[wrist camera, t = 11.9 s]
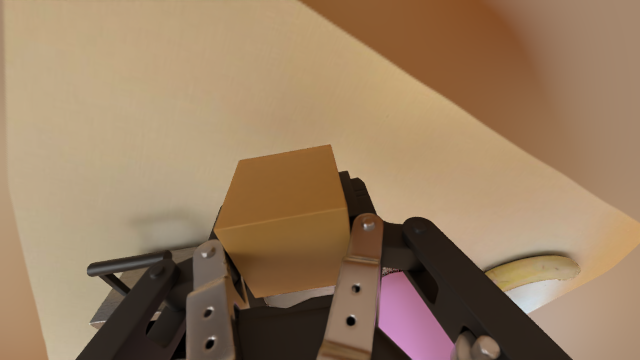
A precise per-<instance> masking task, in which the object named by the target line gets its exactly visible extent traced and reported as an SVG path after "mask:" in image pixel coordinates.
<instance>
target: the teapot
mask: <svg viewBox="0 0 640 360" xmlns="http://www.w3.org/2000/svg"><path fill="white" fill-rule="evenodd" d="M379 328H380V329H381V330H382V331H383V332H385V333H386V334H387V335H388V336H389V337H390V338H391V339H392V340H393V341H394V342H395V343H396V344H397V345H398V346H399V347H400V348H401V349H402V350H403V351H404V352H405V353H406V354H407V355H408V356H409V357H410V358H411V359H412V360H450V354H451V351H452V349H453V347H454V344H453V343H452V341H451V340H450V338H449V337H448V336H447V334H446V333H445V331H444V330H443V328H442V327H441V326H440V324H439V323H438V321H437V320H436V318H435V317H434V316H433V314H432V313H431V311H430V310H429V308H428V307H427V306H426V304H425V303H424V301H423V300H422V298H421V297H420V296H419V294H418V293H417V291H416V290H415V288H414V287H413V286H412V284H411V283H410V281H409V280H408V279H407V277H406V276H405V274H404V273H403V272H397V273H392V274H389V275H386V276H384V277H382V285H381V299H380V318H379Z"/></svg>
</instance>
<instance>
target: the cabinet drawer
mask: <svg viewBox="0 0 640 360" xmlns="http://www.w3.org/2000/svg"><path fill="white" fill-rule="evenodd" d="M198 247H199V246H198ZM198 247H192V248H186V249H180V250H174V251H169V250H167V251H161V252H155V253H149V254H143V255H137V256H131V257H125V258H119V259H113V260H107V261H101V262H95V263H92V264H90V265H89V266H88V268H87V274H88V275H89V276H91V277H94V276H99V277H100V278H101V279H103V280H104V281H105V282H106V283H107V284H109V285H110V286H111V287H112V290H111V291H110V293H109V294H108V296H107V297H106V299H105V300H104V302H103V303H102V305H101V306H100V308H99V309H98V311H97V312H96V314H95V315H94V317H93V318H92V320H91V321H90V323H89V324H90V325H92V326H93V327H95V328H96V329H100V328H101V327H102V326H103V324H104V323H105V322H106V320H107V319H108V318H109V317H110V315H111V314H112V313H113V312H114V310H115V309H116V308H117V307H118V305H119V304H120V303H121V302H122V300H123V299H124V298H125V296H126V295H127V294H128V293H129V291H130V290H131V289H132V288H133V286H134V285H135V284H136V283H137V281H138V280H139V279H140V278H141V276H142V275H143V274H144V272H145V271H146V270H147V269H148V268H149V267H150V266H151V265H153V264H154V263H156V262H158V261H160V260H162V259H172V260H173V261H174V262H175V263H176V264H177V263H179V262H182V261H184V260H186V259H189V258H191V257H193V254H194V252H195V250H196V249H197V248H198ZM118 272H123V274H122V275H121V277H120V278H119V279H118V278H117V277H116V276H115V275H114V274H113V273H118ZM165 306H166V305H165V304H164V303H163V302H162V304H161V305H160V307H159V308H158V310H157V311H156V313H155V314H154V316H153V317H152V319H151V320H150V322H149V323H148V325H147V328H146V335H147V334H148V332H149V331H150V329H151V328H152V326H153V324H154V323H155V321H156V320H157V318H158V317H159V315H160V314H161V312H162V310H163V309H164V307H165ZM183 351H186V331H185V332H184V334H183V336H182V338H181V340H180V342H179V344H178V346H177V348H176V349H175V351H174V353H177V352H183Z"/></svg>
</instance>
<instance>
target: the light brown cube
mask: <svg viewBox="0 0 640 360" xmlns="http://www.w3.org/2000/svg"><path fill="white" fill-rule="evenodd" d="M214 232H215V234H216V236H217V237H218V239H219V240H220V242H221V244H222V245H223V247H224V248H225V250H226V252H227V253H228V255H229V256H230V258H231V260H232V261H233V263H234V265H235V266H236V268H237V269H238V271H239V273H240V274H241V276H242V277H243V279H244V281H245V282H246V284H247V285H248V287H249V289H250V290H251V292H252V294H253V295H254V297H255V298H260V297H266V296H272V295H278V294H284V293H290V292H296V291H303V290H309V289H315V288H321V287H327V286H333V285H336V283H337V278H338V274H339V270H340V265H341V261H342V258H343V256H346V253H347V249H348V244H349V239H350V235H351V234H350V225H349V216H348V207H347V204H346V200H345V196H344V192H343V188H342V185H341V181H340V177H339V173H338V169H337V166H336V162H335V158H334V154H333V151H332V147H331V145H330V144H329V145H324V146H318V147H313V148H307V149H301V150H296V151H290V152H284V153H279V154H273V155H267V156H262V157H256V158H250V159H245V160H240V161H239V162H238V165H237V168H236V170H235V173H234V176H233V179H232V181H231V184H230V187H229V189H228V192H227V195H226V197H225V200H224V203H223V206H222V208H221V211H220V214H219V216H218V219H217V222H216V225H215V227H214Z"/></svg>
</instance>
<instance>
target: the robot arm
mask: <svg viewBox="0 0 640 360" xmlns="http://www.w3.org/2000/svg"><path fill="white" fill-rule="evenodd" d="M338 173H339V177H340V181H341V185H342V188H343V192H344V196H345V200H346V204H347V207H348V216H349V225H350V234H351V235H350V239H349V244H348V249H347V253H346V256H343V258H342V261H341V265H340V270H339V274H338V278H337V283H336V287H335V291H334V294H332V295H326V296H320V297H314V298H310V299H308V300H305V301H303V302H301V303H298V304H296V305H294V306H292V307H289V308H277V307H269V306H259V307H253V308H250V307H249V302H248V298H247V293H246V289H245V284H244V280H243V277H242V276H241V274H240V273H239V271H238V269H237V268H236V266H235V265H234V263H233V261H232V260H231V258H230V256H229V255H228V253H227V252H226V250H225V248H224V247H223V245H222V244H221V242H220V240H219V239H218V237H217V236H216V234H215V232H214V227H215V225H216V222H217V219H218V216H219V214H220V211H221V208H222V206H223V205H222V206H221V207H220V210H219V213H218V215H217V218H216V221H215V223H214V226H213V229H212V231H211V234H210V237H209V239H208V241H206V242H204V243H203V244H201V245H200V246H199V247H198V248H197V249H196V250H195V252H194V254H193V257H191V258H189V259H186V260H184V261H182V262H179V263H177V264H176V263H175V262H174V261H173V260H172V259H162V260H160V261H158V262H156V263H154V264H153V265H151V266H150V267H149V268H148V269H147V270H146V271H145V272H144V274H143V275H142V276H141V278H140V279H139V280H138V281H137V283H136V284H135V285H134V286H133V288H132V289H131V290H130V291H129V293H128V294H127V295H126V296H125V298H124V299H123V300H122V302H121V303H120V304H119V305H118V307H117V308H116V309H115V310H114V312H113V313H112V314H111V315H110V317H109V318H108V319H107V320H106V322H105V323H104V324H103V326H102V327H101V328H100V329H99V331H98V332H97V333H96V334H95V336H94V337H93V338H92V339H91V341H90V342H89V343H88V344H87V346H86V347H85V348H84V350H83V351H82V352H81V353H80V355H79V356H78V357H77V358H76V360H170V359H171V357H172V355H173V353H174V351H175V349H176V348H177V346H178V344H179V342H180V340H181V338H182V336H183V334H184V332H185V331H186V360H412V359H411V358H410V357H409V356H408V355H407V354H406V353H405V352H404V351H403V350H402V349H401V348H400V347H399V346H398V345H397V344H396V343H395V342H394V341H393V340H392V339H391V338H390V337H389V336H388V335H387V334H386V333H385V332H383V331H382V330H381V329H380V328H379V318H380V299H381V285H382V272H383V267H387V268H394V269H401V270H402V271H403V273H404V274H405V276H406V277H407V279H408V280H409V281H410V283H411V284H412V286H413V287H414V288H415V290H416V291H417V293H418V294H419V296H420V297H421V298H422V300H423V301H424V303H425V304H426V306H427V307H428V308H429V310H430V311H431V313H432V314H433V316H434V317H435V318H436V320H437V321H438V323H439V324H440V326H441V327H442V328H443V330H444V331H445V333H446V334H447V336H448V337H449V338H450V340H451V341H452V343H453V344H454V347H453V349H452V351H451V354H450V360H573V359H571V358H570V357H569V356H568V355H567V354H566V353H565V352H564V351H563V350H562V349H561V348H560V347H559V346H558V345H557V344H556V343H555V342H554V341H553V340H552V339H551V338H550V337H549V336H548V335H547V334H546V333H545V332H544V331H543V330H542V329H541V328H540V327H539V326H538V325H537V324H536V323H535V322H534V321H533V320H531V318H529V317H528V315H527V314H526V313H524V312H523V311H522V310H521V309H520V308H519V307H518V306H517V305H516V304H515V303H514V302H513V301H512V300H511V299H510V298H509V297H508V296H507V295H506V294H505V293H504V292H503V291H502V290H501V289H500V288H499V287H498V286H497V285H496V284H495V283H494V282H493V281H492V280H491V279H490V278H489V277H488V276H487V275H486V274H485V273H484V272H483V271H482V270H481V269H479V268H478V267H477V266H476V265H475V264H474V263H473V262H472V261H471V260H470V259H469V258H468V257H467V256H466V255H465V254H464V253H463V252H462V251H461V250H460V249H459V248H458V247H457V246H456V245H455V244H454V243H453V242H452V241H451V240H450V239H449V238H448V237H447V236H446V235H445V234H444V233H443V232H442V231H441V230H440V229H439V228H438V227H437V226H436V225H434V224H433V223H432V222H431V221H430V220H428V219H425V218H422V217H412V218H409V219H407V220H406V221H405V222H404V223H403V224H393V223H388V222H386V221H383V220H382V219H381V218H380V217H379V216H378V215H377V214H376V211H375V209H374V206H373V204H372V201H371V199H370V196H369V194H368V191H367V189H366V186H365V184H364V182H363V181H362V180H361V179H359V178H353V179H350V176H349V173H348V171H342V172H338ZM162 302H163V303H164V304H165V305H166V306H165V307H164V309H163V310H162V312H161V314H160V315H159V317H158V318H157V320H156V321H155V323H154V324H153V326H152V328H151V329H150V331H149V332H148V334H147V335H146V328H147V325H148V323H149V322H150V320H151V319H152V317H153V316H154V314H155V313H156V311H157V310H158V308H159V307H160V305H161V304H162Z"/></svg>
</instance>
